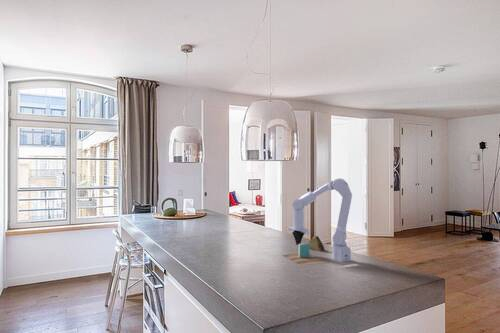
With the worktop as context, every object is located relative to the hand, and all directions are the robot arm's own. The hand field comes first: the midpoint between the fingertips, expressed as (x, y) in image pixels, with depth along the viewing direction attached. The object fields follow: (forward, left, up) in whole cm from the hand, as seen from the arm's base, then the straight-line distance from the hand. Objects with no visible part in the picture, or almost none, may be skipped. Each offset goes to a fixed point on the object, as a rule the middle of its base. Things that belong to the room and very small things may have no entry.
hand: (298, 244), depth 187 cm
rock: (+7, -16, -7) cm, 19 cm away
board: (-9, +2, -6) cm, 11 cm away
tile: (-6, 0, -5) cm, 8 cm away
